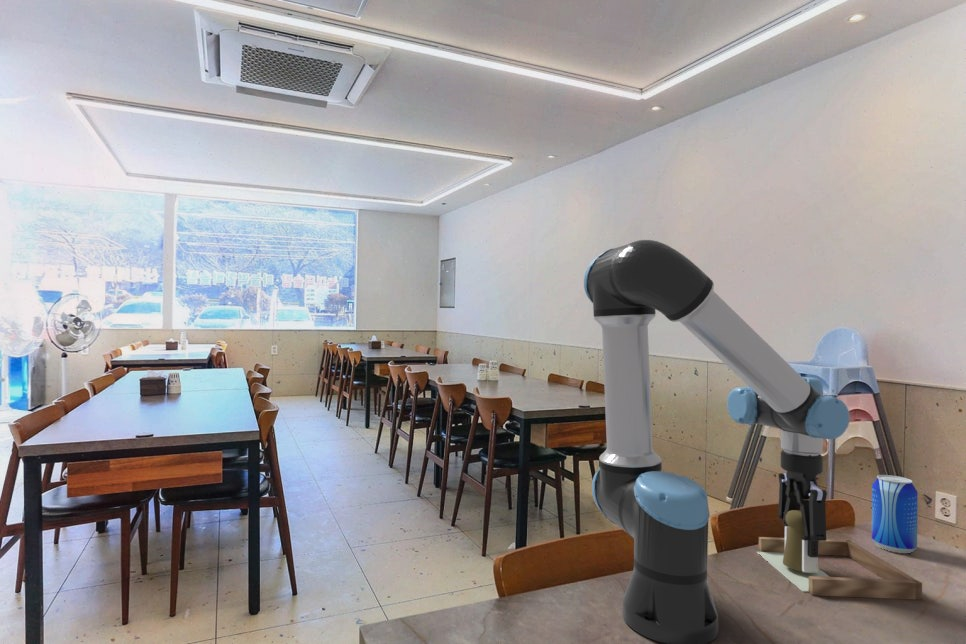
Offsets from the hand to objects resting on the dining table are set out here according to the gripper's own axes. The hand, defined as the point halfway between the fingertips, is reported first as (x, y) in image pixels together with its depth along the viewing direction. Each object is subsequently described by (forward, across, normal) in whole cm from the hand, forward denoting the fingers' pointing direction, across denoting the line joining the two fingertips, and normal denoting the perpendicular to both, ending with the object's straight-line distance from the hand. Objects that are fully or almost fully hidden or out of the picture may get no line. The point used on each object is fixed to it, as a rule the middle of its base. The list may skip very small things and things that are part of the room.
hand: (800, 564), depth 111 cm
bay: (+1, 0, -6) cm, 7 cm away
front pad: (+1, 0, 0) cm, 1 cm away
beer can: (+2, +15, -29) cm, 33 cm away
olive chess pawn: (0, 0, 0) cm, 1 cm away
